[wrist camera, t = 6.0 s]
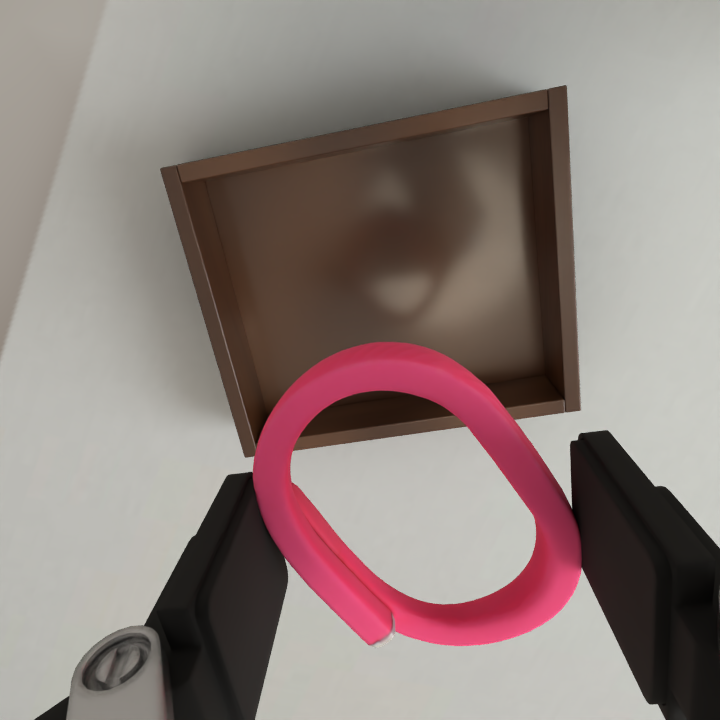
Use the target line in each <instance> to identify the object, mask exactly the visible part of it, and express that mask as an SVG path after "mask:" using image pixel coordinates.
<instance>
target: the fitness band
mask: <svg viewBox="0 0 720 720" xmlns="http://www.w3.org/2000/svg"><path fill="white" fill-rule="evenodd" d="M369 391H397V392H403V393H408V394H412V395H415V396H419V397H422V398H426V399H429V400H431V401H433V402H435V403H437V404H439V405H441V406H443V407H444V408H446V409H447V410H449V411H450V412H451V413H453V414H454V415H455V416H456V417H457V418H459V419H460V420H461V421H462V422H463V423H464V424H465V425H466V426H467V427H468V428H469V429H470V431H471V432H472V433H473V435H474V436H475V437H476V438H477V440H478V441H479V442H480V444H481V445H482V446H483V448H484V449H485V450H486V451H487V453H488V454H489V455H490V456H491V458H492V459H493V460H494V462H495V463H496V465H497V466H498V467H499V469H500V470H501V471H502V473H503V474H504V475H505V477H506V478H507V480H508V481H509V482H510V484H511V485H512V486H513V488H514V489H515V491H516V492H517V493H518V495H519V496H520V497H521V499H522V500H523V502H524V503H525V504H526V506H527V507H528V508H529V510H530V511H531V513H532V514H533V516H534V519H535V523H536V543H535V548H534V551H533V554H532V557H531V559H530V561H529V563H528V564H527V566H526V567H525V569H524V570H523V571H522V572H521V573H520V575H519V576H518V577H517V578H516V579H514V580H513V581H512V582H511V583H509V584H508V585H507V586H505V587H503V588H502V589H500V590H498V591H496V592H494V593H492V594H490V595H488V596H485V597H482V598H480V599H477V600H474V601H469V602H465V603H459V604H445V605H442V604H433V603H427V602H423V601H420V600H417V599H414V598H412V597H409V596H407V595H405V594H403V593H401V592H399V591H398V590H396V589H394V588H393V587H391V586H390V585H388V584H386V583H385V582H384V581H383V580H381V579H380V578H379V577H377V576H376V575H375V574H374V573H373V572H372V571H371V570H370V569H369V568H368V567H367V566H365V565H364V563H363V562H362V561H361V560H360V559H359V558H358V557H357V556H356V555H355V554H354V553H353V552H352V551H351V550H350V549H349V548H348V547H347V546H346V544H345V543H344V542H343V541H342V540H341V539H340V537H339V536H338V535H337V534H336V533H335V532H334V530H333V529H332V528H331V526H330V525H329V524H328V522H327V521H326V520H325V519H324V518H323V516H322V515H321V514H320V513H319V511H318V510H317V509H316V507H315V506H314V505H313V504H312V503H311V501H310V500H309V499H308V498H307V497H306V496H305V494H304V493H303V492H302V491H301V489H300V488H299V487H298V486H297V485H295V484H294V483H292V482H291V475H290V463H291V456H292V452H293V449H294V446H295V444H296V441H297V440H298V438H299V436H300V434H301V433H302V431H303V430H304V429H305V427H306V426H307V425H308V423H309V422H310V421H311V420H312V419H313V418H314V417H315V416H316V415H317V414H318V413H319V412H321V411H322V410H323V409H324V408H326V407H328V406H329V405H331V404H332V403H334V402H335V401H338V400H340V399H342V398H345V397H347V396H350V395H353V394H357V393H362V392H369ZM253 483H254V489H255V494H256V499H257V503H258V506H259V510H260V513H261V516H262V518H263V521H264V523H265V525H266V528H267V530H268V532H269V534H270V535H271V537H272V539H273V541H274V542H275V544H276V545H277V547H278V548H279V550H280V551H281V553H282V555H283V556H284V557H285V559H286V560H287V561H288V562H289V563H290V565H291V566H292V567H293V568H294V569H295V570H296V572H297V573H298V574H299V575H300V576H301V578H302V579H303V580H304V581H305V582H306V583H307V585H308V586H309V587H310V588H311V589H312V590H313V591H314V592H315V593H316V594H317V595H318V596H319V597H320V598H321V599H322V600H323V601H324V602H325V603H326V604H327V605H328V606H329V607H330V608H331V609H332V610H333V611H334V612H335V613H336V614H337V615H338V616H339V617H340V618H341V619H342V620H343V621H344V622H345V623H346V624H348V625H349V626H350V628H351V629H352V630H353V631H354V632H356V633H357V634H358V635H359V636H360V637H361V639H362V640H364V641H365V642H366V643H367V644H368V645H370V646H372V647H374V648H378V647H381V646H383V645H385V644H386V643H388V642H389V641H391V639H392V638H393V636H394V634H395V631H396V632H398V633H400V634H403V635H405V636H408V637H411V638H414V639H418V640H421V641H426V642H429V643H435V644H440V645H452V646H471V645H482V644H489V643H494V642H499V641H503V640H507V639H510V638H513V637H516V636H519V635H522V634H524V633H527V632H530V631H531V630H533V629H535V628H537V627H539V626H541V625H542V624H544V623H545V622H547V621H549V620H550V619H551V618H553V617H554V616H555V615H556V614H557V613H558V612H559V611H560V610H561V609H562V608H563V607H564V606H565V605H566V603H567V602H568V600H569V599H570V597H571V596H572V595H573V593H574V590H575V588H576V586H577V584H578V581H579V577H580V574H581V568H582V551H581V538H580V531H579V527H578V523H577V521H576V519H575V516H574V513H573V511H572V508H571V506H570V504H569V502H568V500H567V498H566V496H565V494H564V492H563V490H562V488H561V487H560V485H559V484H558V482H557V481H556V479H555V478H554V476H553V475H552V473H551V471H550V470H549V468H548V467H547V465H546V464H545V462H544V461H543V459H542V458H541V456H540V455H539V454H538V452H537V451H536V449H535V448H534V446H533V445H532V443H531V442H530V441H529V439H528V438H527V437H526V435H525V434H524V432H523V431H522V430H521V428H520V427H519V426H518V424H517V423H516V422H515V420H514V419H513V418H512V417H511V415H510V414H509V413H508V411H507V410H506V409H505V408H504V406H503V405H502V404H501V402H500V401H499V400H498V398H497V397H496V396H495V395H494V394H493V392H492V391H491V390H490V389H489V388H488V387H487V386H486V385H485V384H484V383H483V382H482V381H480V380H479V379H478V378H477V377H476V376H474V375H473V374H472V373H471V372H470V371H469V370H467V369H466V368H464V367H463V366H462V365H460V364H459V363H457V362H456V361H454V360H453V359H451V358H449V357H447V356H446V355H444V354H441V353H439V352H437V351H435V350H432V349H429V348H426V347H423V346H419V345H414V344H410V343H400V342H374V343H368V344H363V345H359V346H355V347H352V348H348V349H345V350H342V351H340V352H338V353H335V354H333V355H331V356H329V357H327V358H325V359H324V360H322V361H320V362H319V363H317V364H316V365H314V366H313V367H312V368H310V369H309V370H308V371H307V372H305V373H304V374H303V375H302V376H301V377H299V378H298V379H297V380H296V381H295V382H294V383H293V384H292V385H291V386H290V387H289V389H288V390H287V391H286V392H285V393H284V395H283V396H282V397H281V399H280V400H279V401H278V403H277V404H276V406H275V407H274V409H273V410H272V412H271V414H270V415H269V417H268V419H267V421H266V423H265V425H264V428H263V430H262V432H261V435H260V438H259V441H258V445H257V448H256V453H255V457H254V465H253Z"/></svg>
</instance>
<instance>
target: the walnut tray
mask: <svg viewBox="0 0 720 720" xmlns="http://www.w3.org/2000/svg"><path fill="white" fill-rule="evenodd" d="M160 171H161V174H162V177H163V181H164V184H165V188H166V191H167V194H168V198H169V201H170V205H171V208H172V211H173V215H174V218H175V222H176V225H177V228H178V232H179V235H180V239H181V242H182V245H183V249H184V252H185V256H186V259H187V262H188V266H189V269H190V273H191V276H192V279H193V283H194V286H195V290H196V293H197V296H198V300H199V303H200V307H201V310H202V313H203V317H204V320H205V324H206V327H207V330H208V334H209V337H210V341H211V344H212V347H213V351H214V354H215V358H216V361H217V364H218V368H219V371H220V375H221V378H222V381H223V385H224V388H225V392H226V395H227V398H228V402H229V405H230V409H231V412H232V415H233V419H234V422H235V426H236V429H237V432H238V436H239V439H240V443H241V446H242V449H243V453H244V456H245V457H253V456H255V453H256V448H257V445H258V441H259V438H260V435H261V432H262V430H263V428H264V425H265V423H266V421H267V419H268V417H269V415H270V414H271V412H272V410H273V409H274V407H275V406H276V404H277V403H278V401H279V400H280V399H281V397H282V396H283V395H284V393H285V392H286V391H287V390H288V389H289V387H290V386H291V385H292V384H293V383H294V382H295V381H296V380H297V379H298V378H299V377H301V376H302V375H303V374H304V373H305V372H307V371H308V370H309V369H310V368H312V367H313V366H314V365H316V364H317V363H319V362H320V361H322V360H324V359H325V358H327V357H329V356H331V355H333V354H335V353H338V352H340V351H342V350H345V349H348V348H352V347H355V346H359V345H363V344H368V343H374V342H400V343H410V344H414V345H419V346H423V347H426V348H429V349H432V350H435V351H437V352H439V353H441V354H444V355H446V356H447V357H449V358H451V359H453V360H454V361H456V362H457V363H459V364H460V365H462V366H463V367H464V368H466V369H467V370H469V371H470V372H471V373H472V374H473V375H474V376H476V377H477V378H478V379H479V380H480V381H482V382H483V383H484V384H485V385H486V386H487V387H488V388H489V389H490V390H491V391H492V392H493V394H494V395H495V396H496V397H497V398H498V400H499V401H500V402H501V404H502V405H503V406H504V408H505V409H506V410H507V411H508V413H509V414H510V415H511V417H512V418H513V419H514V420H516V419H523V418H530V417H537V416H544V415H551V414H558V413H564V412H573V411H580V410H581V399H580V376H579V353H578V331H577V308H576V285H575V262H574V239H573V217H572V194H571V171H570V148H569V125H568V103H567V86H566V85H564V86H559V87H554V88H549V89H547V90H546V89H545V90H540V91H535V92H530V93H525V94H520V95H515V96H510V97H506V98H501V99H496V100H491V101H486V102H481V103H476V104H471V105H466V106H462V107H457V108H452V109H447V110H442V111H437V112H432V113H427V114H422V115H418V116H413V117H408V118H403V119H398V120H393V121H388V122H383V123H378V124H374V125H369V126H364V127H359V128H354V129H349V130H344V131H339V132H335V133H330V134H325V135H320V136H315V137H310V138H305V139H300V140H295V141H291V142H286V143H281V144H276V145H271V146H266V147H261V148H256V149H251V150H247V151H242V152H237V153H232V154H227V155H222V156H217V157H212V158H207V159H203V160H198V161H193V162H188V163H183V164H178V165H173V166H168V167H163V168H161V169H160ZM459 427H466V425H465V424H464V423H463V422H462V421H461V420H460V419H459V418H457V417H456V416H455V415H454V414H453V413H451V412H450V411H449V410H447V409H446V408H444V407H443V406H441V405H439V404H437V403H435V402H433V401H431V400H429V399H426V398H422V397H419V396H415V395H412V394H408V393H403V392H397V391H369V392H362V393H357V394H353V395H350V396H347V397H345V398H342V399H340V400H338V401H335V402H334V403H332V404H331V405H329V406H328V407H326V408H324V409H323V410H322V411H321V412H319V413H318V414H317V415H316V416H315V417H314V418H313V419H312V420H311V421H310V422H309V423H308V425H307V426H306V427H305V429H304V430H303V431H302V433H301V434H300V436H299V438H298V440H297V441H296V444H295V446H294V449H293V451H295V450H302V449H309V448H317V447H324V446H331V445H338V444H345V443H352V442H359V441H366V440H373V439H381V438H388V437H395V436H402V435H409V434H416V433H423V432H430V431H437V430H445V429H452V428H459Z"/></svg>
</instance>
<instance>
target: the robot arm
mask: <svg viewBox="0 0 720 720" xmlns="http://www.w3.org/2000/svg"><path fill="white" fill-rule="evenodd" d="M570 457H571V488H572V511H573V513H574V516H575V519H576V521H577V523H578V527H579V531H580V538H581V551H582V569H583V571H584V573H585V575H586V577H587V579H588V581H589V583H590V585H591V587H592V590H593V592H594V594H595V596H596V598H597V600H598V602H599V604H600V606H601V608H602V610H603V612H604V615H605V617H606V619H607V621H608V623H609V625H610V627H611V629H612V631H613V633H614V635H615V637H616V640H617V642H618V644H619V646H620V648H621V650H622V652H623V654H624V656H625V658H626V660H627V662H628V665H629V667H630V669H631V671H632V673H633V675H634V677H635V679H636V681H637V683H638V685H639V687H640V689H641V692H642V694H643V696H644V698H645V699H646V701H647V702H648V703H649V704H658V705H659V707H660V709H661V711H662V713H663V715H664V717H665V719H666V720H720V548H719V547H718V546H717V545H716V544H715V542H714V541H713V540H712V539H711V538H710V537H709V536H708V534H707V533H706V532H705V531H704V530H703V529H702V527H701V526H700V525H699V524H698V523H697V522H696V520H695V519H694V518H693V517H692V516H691V515H690V514H689V512H688V511H687V510H686V509H685V508H684V507H683V505H682V504H681V503H680V502H679V501H678V500H677V499H676V497H675V496H674V495H673V494H672V493H671V492H670V491H669V490H668V489H667V488H666V487H663V486H657V487H655V486H654V485H653V484H652V483H651V481H650V480H649V479H648V478H647V477H646V475H645V474H644V473H643V472H642V471H641V469H640V468H639V467H638V466H637V464H636V463H635V462H634V461H633V460H632V458H631V457H630V456H629V455H628V454H627V452H626V451H625V450H624V449H623V448H622V446H621V445H620V444H619V443H618V442H617V440H616V439H615V438H614V437H613V436H612V434H611V433H610V432H609V431H607V430H605V431H596V432H588V433H580V434H579V437H578V440H576V441H571V444H570ZM287 584H288V570H287V566H286V562H285V558H284V556H283V555H282V553H281V551H280V550H279V548H278V547H277V545H276V544H275V542H274V541H273V539H272V537H271V535H270V534H269V532H268V530H267V528H266V525H265V523H264V521H263V518H262V516H261V513H260V510H259V506H258V503H257V499H256V494H255V489H254V483H253V473H252V472H248V473H239V474H231V475H228V476H227V477H226V479H225V480H224V482H223V484H222V486H221V488H220V490H219V492H218V494H217V496H216V498H215V499H214V501H213V503H212V505H211V507H210V509H209V511H208V513H207V515H206V517H205V518H204V520H203V522H202V524H201V526H200V528H199V530H198V532H197V534H196V535H195V536H193V537H192V538H191V540H190V541H189V542H188V544H187V546H186V548H185V550H184V552H183V554H182V556H181V557H180V559H179V561H178V563H177V565H176V567H175V569H174V570H173V572H172V574H171V576H170V578H169V580H168V582H167V584H166V585H165V587H164V589H163V591H162V593H161V595H160V597H159V599H158V600H157V602H156V604H155V606H154V608H153V610H152V612H151V613H150V615H149V617H148V619H147V621H146V623H145V625H144V626H143V625H141V626H130V627H127V628H124V629H120V630H118V631H116V632H114V633H112V634H110V635H108V636H106V637H105V638H103V639H102V640H101V641H99V642H98V643H97V644H95V645H94V646H93V647H92V648H91V649H90V650H89V651H88V652H87V653H86V654H85V655H84V656H83V657H82V659H81V660H80V662H79V664H78V665H77V667H76V668H75V671H74V674H73V677H72V681H71V689H70V696H68V697H67V698H65V699H64V700H62V701H61V702H59V703H58V704H57V705H55V706H54V707H52V708H51V709H49V710H48V711H46V712H45V713H43V714H42V715H40V716H39V717H37V718H36V719H35V720H255V716H256V712H257V708H258V704H259V700H260V696H261V692H262V688H263V684H264V679H265V675H266V671H267V667H268V663H269V659H270V655H271V651H272V647H273V642H274V638H275V634H276V630H277V626H278V622H279V618H280V614H281V610H282V605H283V601H284V597H285V593H286V589H287Z"/></svg>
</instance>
